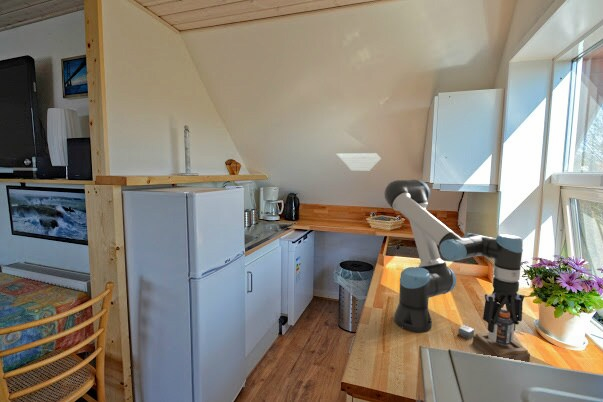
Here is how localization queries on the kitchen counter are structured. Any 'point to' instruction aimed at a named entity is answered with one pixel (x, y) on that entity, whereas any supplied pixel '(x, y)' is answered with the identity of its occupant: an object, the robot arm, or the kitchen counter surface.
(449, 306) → the kitchen counter surface
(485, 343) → the stand
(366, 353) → the kitchen counter surface
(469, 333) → the block
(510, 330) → the pill bottle
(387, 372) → the kitchen counter surface
